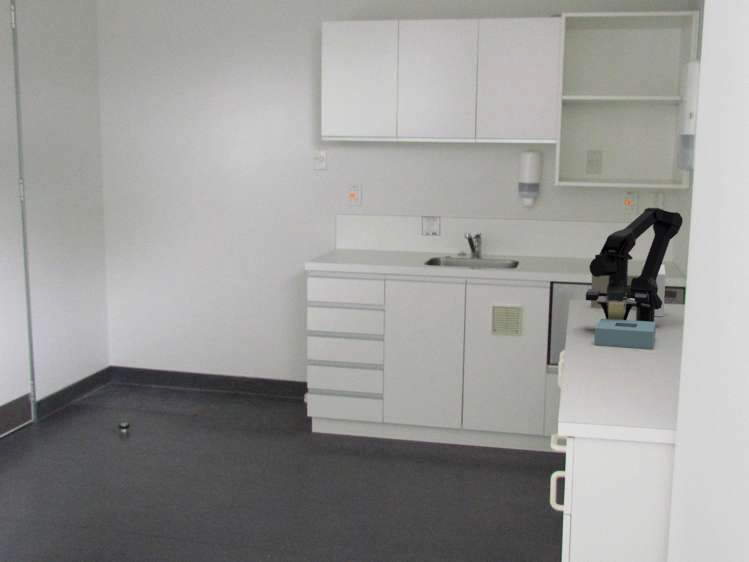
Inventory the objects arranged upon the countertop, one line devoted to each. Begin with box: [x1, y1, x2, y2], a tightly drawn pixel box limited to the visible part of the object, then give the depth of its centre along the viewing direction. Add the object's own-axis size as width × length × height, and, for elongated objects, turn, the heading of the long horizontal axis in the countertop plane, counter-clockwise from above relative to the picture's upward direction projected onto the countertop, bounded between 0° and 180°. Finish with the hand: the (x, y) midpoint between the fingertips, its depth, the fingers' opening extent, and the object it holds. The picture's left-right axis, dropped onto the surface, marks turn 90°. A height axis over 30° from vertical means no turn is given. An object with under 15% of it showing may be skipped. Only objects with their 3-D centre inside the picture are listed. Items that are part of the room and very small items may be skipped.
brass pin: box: [608, 302, 625, 320], centre depth 248 cm, size 5×5×9 cm
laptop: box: [590, 274, 640, 311], centre depth 293 cm, size 18×12×13 cm
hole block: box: [594, 318, 657, 350], centre depth 233 cm, size 16×16×5 cm
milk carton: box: [640, 260, 666, 317], centre depth 275 cm, size 7×7×19 cm
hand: (616, 323), depth 248 cm, fingers closed on brass pin, 5 cm apart
